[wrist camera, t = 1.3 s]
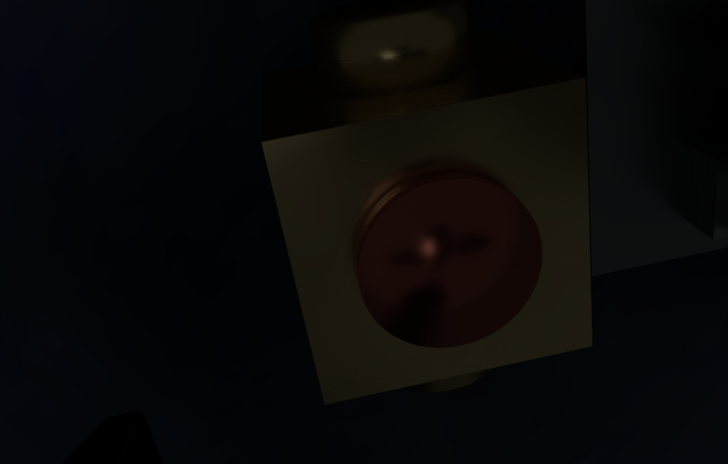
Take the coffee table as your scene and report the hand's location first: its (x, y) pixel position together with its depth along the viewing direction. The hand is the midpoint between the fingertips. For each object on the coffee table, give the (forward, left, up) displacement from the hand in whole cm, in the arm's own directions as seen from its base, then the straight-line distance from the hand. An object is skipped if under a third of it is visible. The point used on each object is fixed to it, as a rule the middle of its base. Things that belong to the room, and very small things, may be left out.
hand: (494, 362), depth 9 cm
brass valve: (0, 0, -8) cm, 8 cm away
